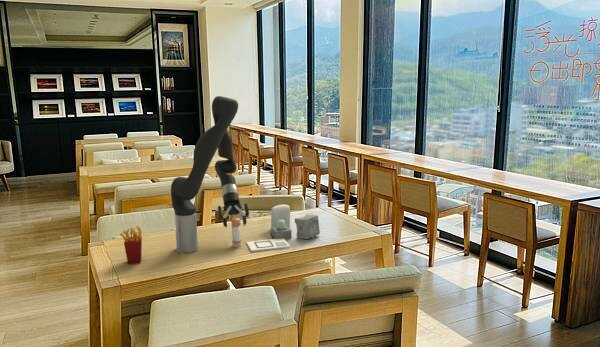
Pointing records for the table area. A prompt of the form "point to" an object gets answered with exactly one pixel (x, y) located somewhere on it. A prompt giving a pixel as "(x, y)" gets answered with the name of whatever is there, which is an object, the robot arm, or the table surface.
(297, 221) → the grey stone block
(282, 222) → the button
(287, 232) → the button housing
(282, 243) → the sheet
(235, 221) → the marker
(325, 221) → the table surface
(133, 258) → the french fries
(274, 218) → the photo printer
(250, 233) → the table surface
